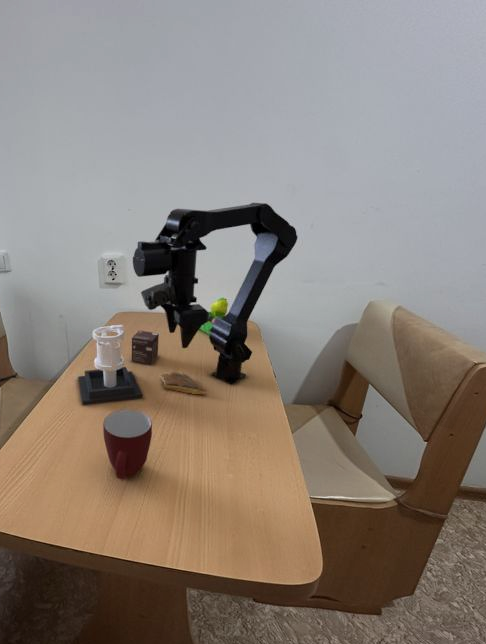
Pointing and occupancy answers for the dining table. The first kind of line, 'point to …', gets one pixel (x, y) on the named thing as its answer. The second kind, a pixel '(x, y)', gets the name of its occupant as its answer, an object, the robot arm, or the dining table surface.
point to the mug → (127, 440)
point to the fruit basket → (215, 314)
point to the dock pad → (98, 393)
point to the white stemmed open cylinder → (109, 353)
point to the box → (145, 347)
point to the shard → (181, 383)
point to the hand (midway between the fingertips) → (177, 339)
